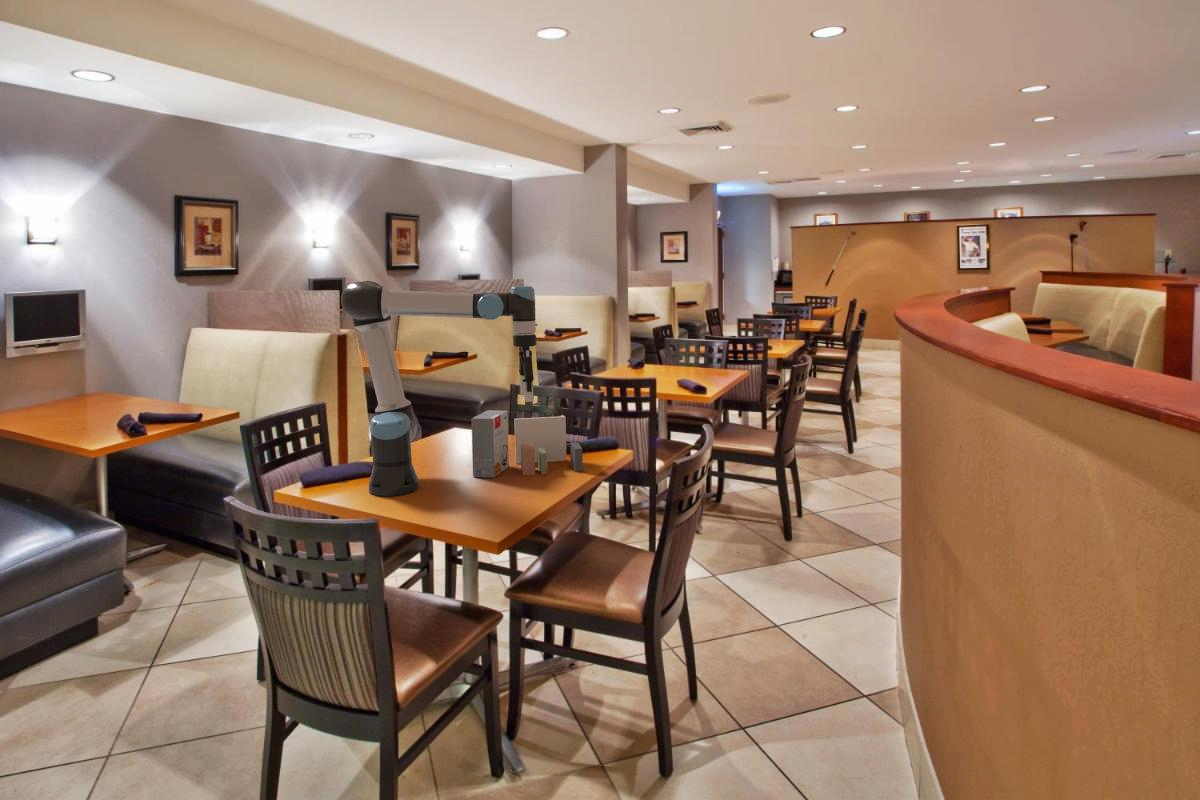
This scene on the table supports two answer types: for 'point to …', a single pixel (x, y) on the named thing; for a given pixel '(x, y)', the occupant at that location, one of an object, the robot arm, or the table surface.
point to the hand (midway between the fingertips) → (526, 398)
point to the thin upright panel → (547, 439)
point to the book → (527, 459)
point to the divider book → (542, 460)
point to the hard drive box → (490, 443)
